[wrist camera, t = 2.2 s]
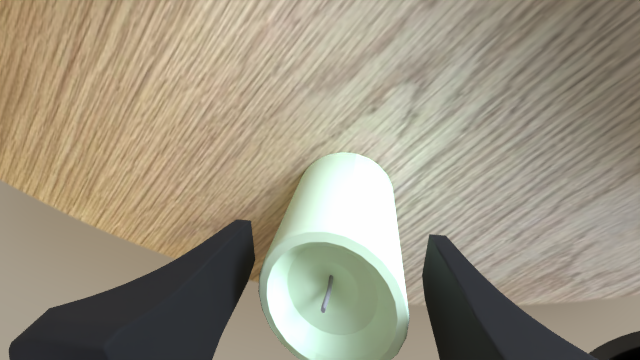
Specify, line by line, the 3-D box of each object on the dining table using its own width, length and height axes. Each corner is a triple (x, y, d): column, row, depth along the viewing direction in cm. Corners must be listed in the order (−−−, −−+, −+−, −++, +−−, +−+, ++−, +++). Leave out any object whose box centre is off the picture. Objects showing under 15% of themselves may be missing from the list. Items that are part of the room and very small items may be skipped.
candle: (280, 180, 17) (213, 296, 10) (361, 132, 15) (352, 230, 8) (331, 247, 19) (306, 392, 11) (411, 210, 17) (441, 354, 10)
